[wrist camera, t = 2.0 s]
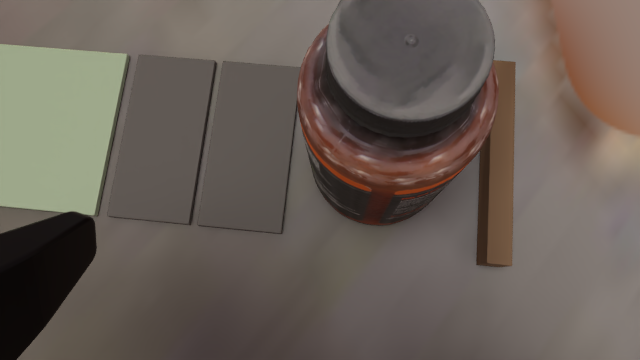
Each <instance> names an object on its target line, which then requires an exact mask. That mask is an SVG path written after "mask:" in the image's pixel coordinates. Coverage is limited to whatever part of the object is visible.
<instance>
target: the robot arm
mask: <svg viewBox="0 0 640 360" xmlns="http://www.w3.org/2000/svg"><path fill="white" fill-rule="evenodd" d="M96 249H97V246H96V231H95V222H94V220H93V218H91V217H89V216H87V215H84V214H81V213H79V212H76V211H70V212H66V213H63V214H60V215H57V216H54V217H51V218H47V219H44V220H41V221H38V222H35V223H32V224H29V225H26V226H23V227H20V228H17V229H13V230H10V231H7V232H4V233H1V234H0V360H17V358H18V357H19V356H20V355H21V354H22V353H23V352H24V350H25V349H26V348H27V347H28V346H29V345H30V344H31V343H32V341H33V340H34V339H35V338H36V337H37V336H38V334H39V333H40V332H41V331H42V330H43V328H44V327H45V326H46V325H47V323H48V322H49V321H50V319H51V318H52V317H53V315H54V314H55V313H56V311H57V310H58V308H59V307H60V306H61V304H62V303H63V301H64V300H65V299H66V297H67V296H68V294H69V293H70V292H71V290H72V289H73V287H74V286H75V285H76V283H77V282H78V280H79V279H80V278H81V276H82V275H83V273H84V272H85V271H86V269H87V268H88V266H89V265H90V264H91V262H92V261H93V259H94V257H95V254H96Z"/></svg>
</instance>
